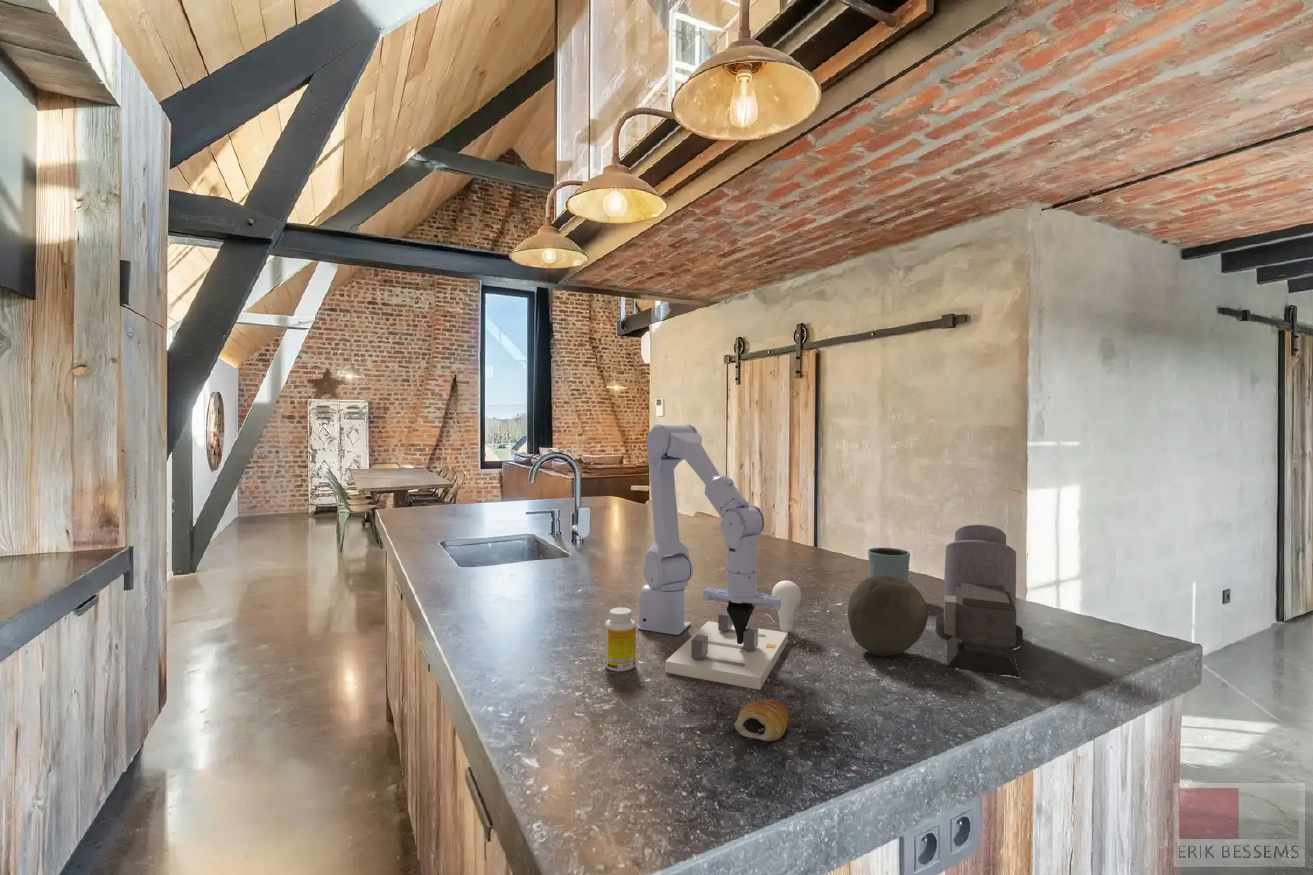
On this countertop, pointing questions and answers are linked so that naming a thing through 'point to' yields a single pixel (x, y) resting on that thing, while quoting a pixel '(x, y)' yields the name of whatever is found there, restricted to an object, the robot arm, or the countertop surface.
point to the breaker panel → (729, 657)
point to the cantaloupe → (886, 615)
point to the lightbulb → (787, 602)
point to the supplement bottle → (620, 640)
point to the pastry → (762, 720)
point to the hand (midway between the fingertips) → (740, 642)
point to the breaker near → (699, 646)
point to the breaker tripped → (750, 638)
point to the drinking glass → (889, 562)
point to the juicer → (980, 602)
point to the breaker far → (724, 621)
